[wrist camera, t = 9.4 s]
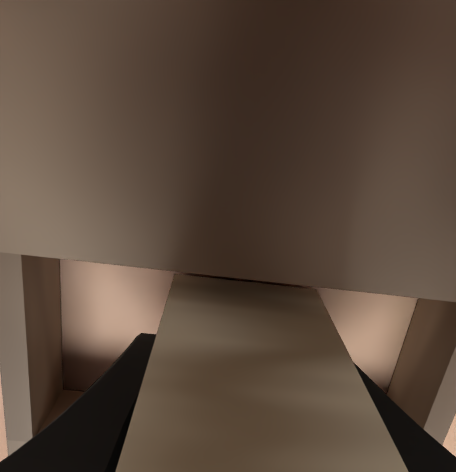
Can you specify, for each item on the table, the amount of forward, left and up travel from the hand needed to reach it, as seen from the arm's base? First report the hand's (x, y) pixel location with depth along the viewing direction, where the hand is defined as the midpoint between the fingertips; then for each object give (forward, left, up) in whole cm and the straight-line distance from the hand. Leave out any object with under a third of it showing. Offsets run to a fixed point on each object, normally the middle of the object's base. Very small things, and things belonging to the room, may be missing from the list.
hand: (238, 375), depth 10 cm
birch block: (0, 0, -1) cm, 1 cm away
